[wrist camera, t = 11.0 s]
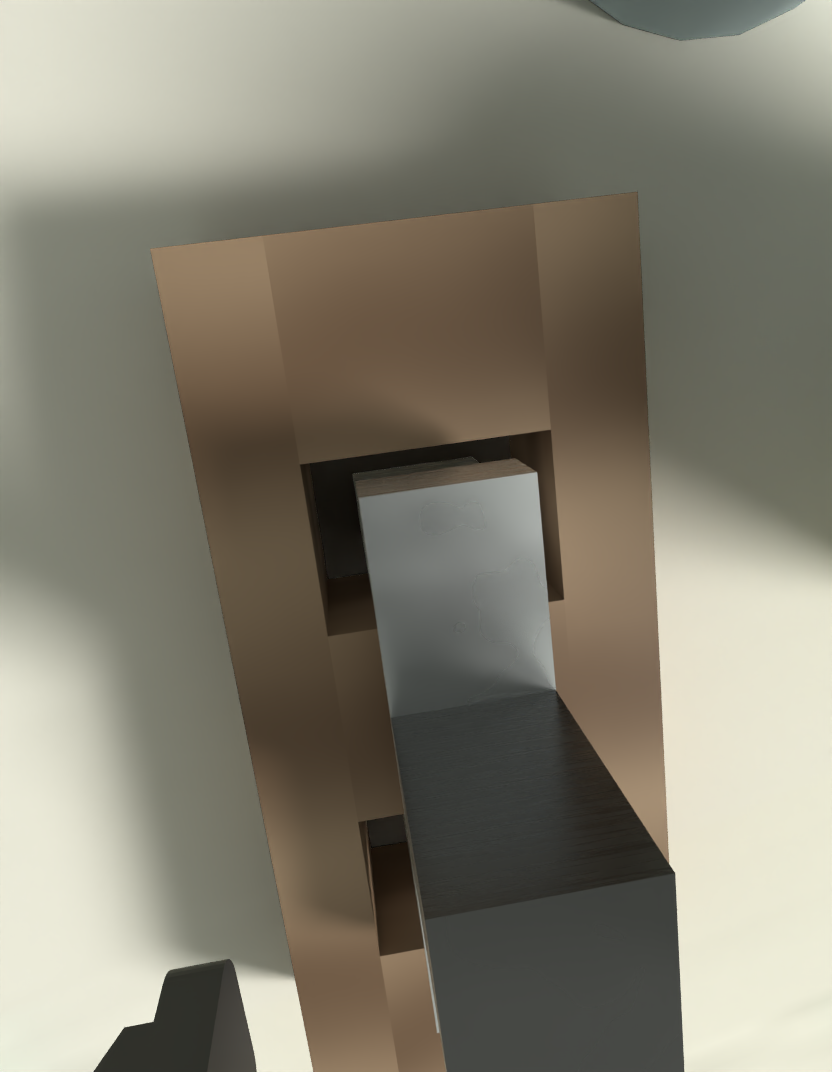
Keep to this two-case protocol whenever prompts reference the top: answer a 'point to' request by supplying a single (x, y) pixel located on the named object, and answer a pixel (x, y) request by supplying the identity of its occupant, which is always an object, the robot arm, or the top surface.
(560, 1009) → the clip
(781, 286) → the top surface
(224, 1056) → the robot arm
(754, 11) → the spray bottle
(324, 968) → the wooden block with holes
